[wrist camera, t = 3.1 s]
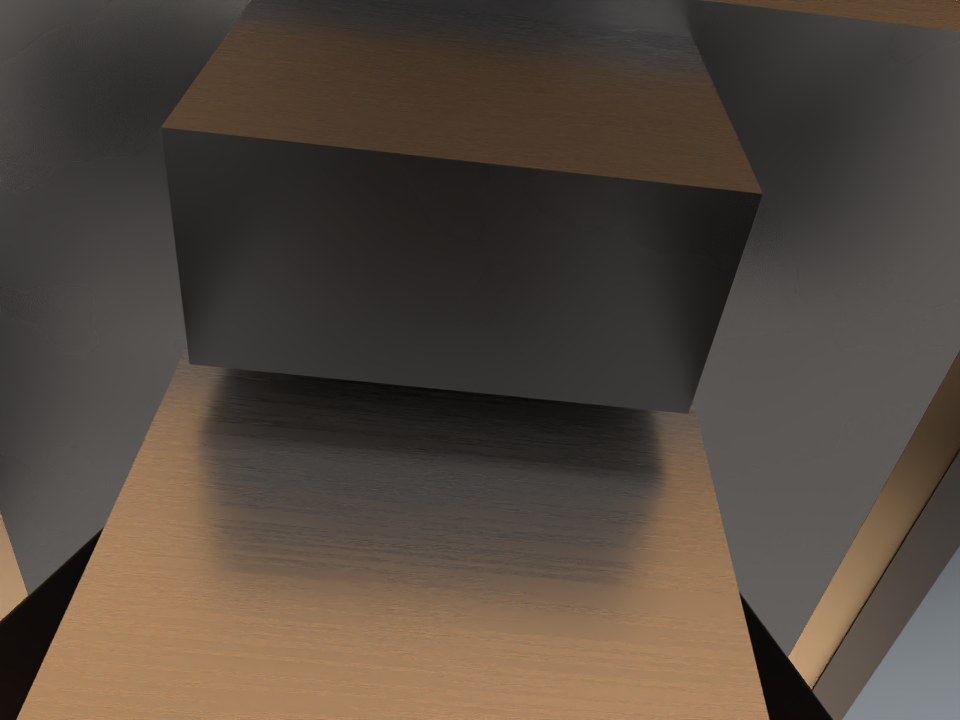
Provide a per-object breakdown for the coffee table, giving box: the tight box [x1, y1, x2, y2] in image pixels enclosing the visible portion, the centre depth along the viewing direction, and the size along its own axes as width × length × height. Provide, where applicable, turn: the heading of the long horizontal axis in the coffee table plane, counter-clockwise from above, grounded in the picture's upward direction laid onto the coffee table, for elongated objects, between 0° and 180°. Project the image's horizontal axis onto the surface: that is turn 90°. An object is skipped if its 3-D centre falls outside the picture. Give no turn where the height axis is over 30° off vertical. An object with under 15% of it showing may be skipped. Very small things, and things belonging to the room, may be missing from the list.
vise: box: [0, 0, 960, 657], centre depth 10 cm, size 12×10×4 cm
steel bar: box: [17, 347, 769, 720], centre depth 8 cm, size 4×4×8 cm
